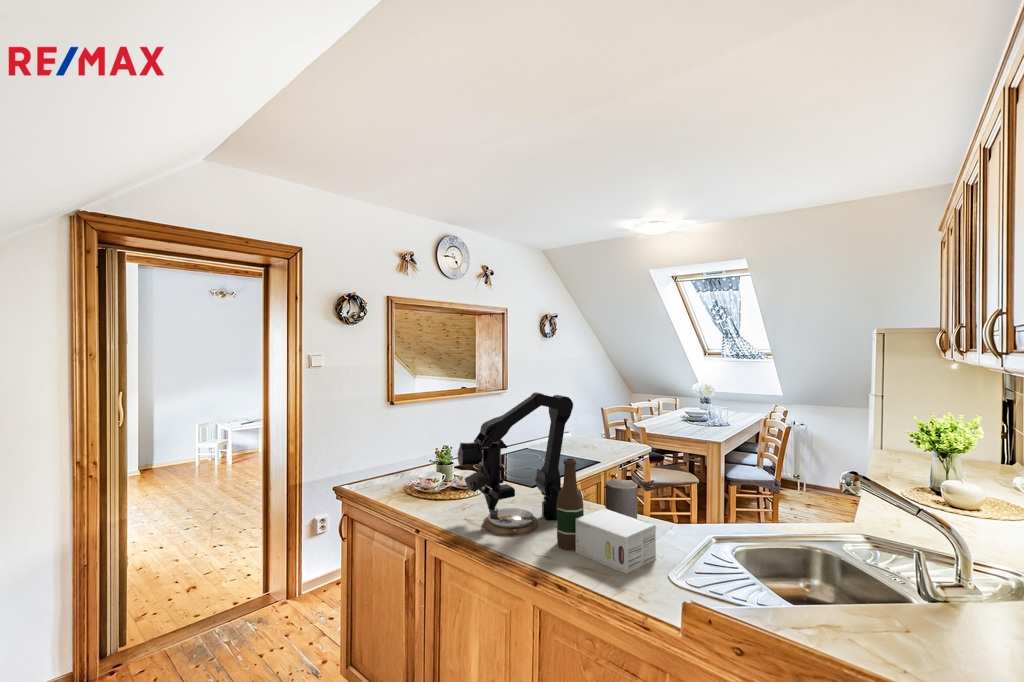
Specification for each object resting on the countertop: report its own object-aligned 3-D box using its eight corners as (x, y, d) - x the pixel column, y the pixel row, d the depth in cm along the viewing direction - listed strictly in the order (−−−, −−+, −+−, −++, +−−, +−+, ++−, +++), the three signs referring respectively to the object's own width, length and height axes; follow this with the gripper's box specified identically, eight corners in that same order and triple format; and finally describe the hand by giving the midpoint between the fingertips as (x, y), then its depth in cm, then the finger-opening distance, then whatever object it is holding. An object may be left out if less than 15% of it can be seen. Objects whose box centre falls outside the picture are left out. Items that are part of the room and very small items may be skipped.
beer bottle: (587, 542, 137) (587, 457, 138) (579, 553, 130) (579, 463, 130) (561, 538, 141) (561, 455, 141) (552, 548, 133) (551, 460, 134)
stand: (532, 514, 161) (532, 509, 161) (543, 533, 144) (543, 529, 144) (481, 517, 158) (481, 512, 158) (486, 537, 141) (486, 532, 141)
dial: (523, 510, 160) (523, 498, 160) (540, 525, 147) (540, 511, 147) (482, 515, 155) (482, 502, 155) (496, 531, 142) (496, 517, 142)
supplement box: (574, 552, 131) (574, 518, 131) (605, 540, 140) (605, 507, 140) (626, 575, 118) (626, 536, 118) (656, 559, 127) (656, 523, 127)
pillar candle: (598, 527, 149) (598, 478, 149) (618, 519, 155) (618, 473, 155) (624, 537, 141) (625, 486, 141) (644, 529, 148) (644, 479, 148)
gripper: (455, 459, 154) (454, 507, 155) (483, 474, 138) (483, 528, 139) (485, 454, 160) (485, 501, 161) (516, 468, 144) (515, 520, 145)
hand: (491, 512), depth 151 cm, fingers closed
